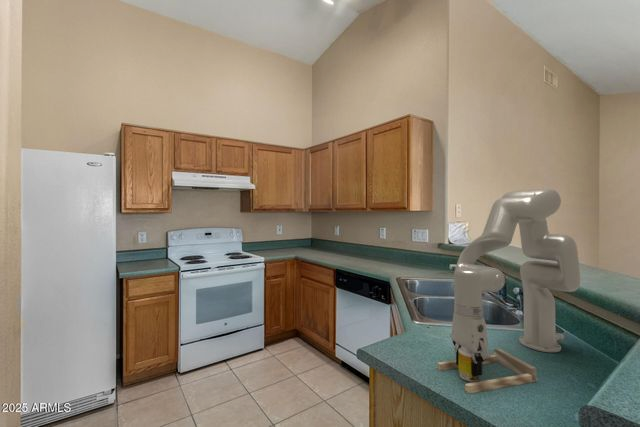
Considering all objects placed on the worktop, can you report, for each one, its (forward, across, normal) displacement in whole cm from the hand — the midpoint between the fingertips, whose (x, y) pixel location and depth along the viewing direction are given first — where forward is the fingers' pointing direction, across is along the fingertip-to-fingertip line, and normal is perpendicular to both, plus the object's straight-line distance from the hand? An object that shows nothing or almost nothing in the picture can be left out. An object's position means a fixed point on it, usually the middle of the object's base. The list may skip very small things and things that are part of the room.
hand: (468, 369), depth 87 cm
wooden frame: (+3, 0, -6) cm, 7 cm away
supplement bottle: (+3, 0, 0) cm, 3 cm away
